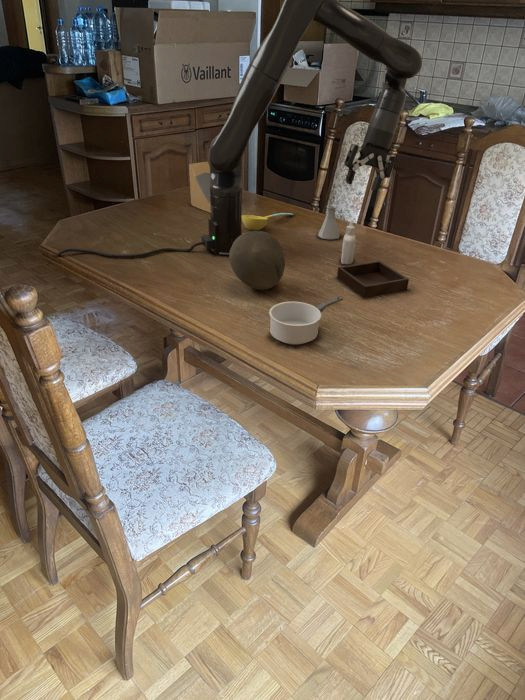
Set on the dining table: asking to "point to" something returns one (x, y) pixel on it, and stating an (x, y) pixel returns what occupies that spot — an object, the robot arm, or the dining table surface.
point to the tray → (372, 279)
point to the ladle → (257, 221)
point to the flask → (329, 225)
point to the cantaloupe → (257, 259)
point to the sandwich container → (200, 185)
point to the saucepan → (297, 321)
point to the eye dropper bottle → (348, 245)
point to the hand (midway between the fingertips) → (361, 187)
